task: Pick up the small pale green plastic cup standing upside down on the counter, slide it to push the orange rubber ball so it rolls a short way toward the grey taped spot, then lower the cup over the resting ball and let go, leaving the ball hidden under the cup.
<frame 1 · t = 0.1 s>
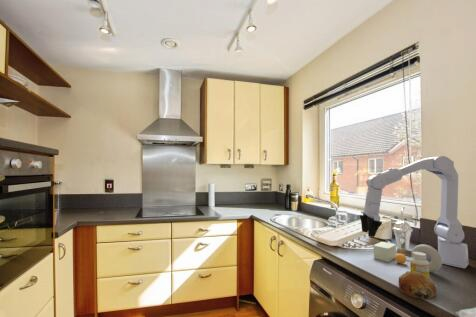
hand: (367, 234, 112), 11 cm above the worktop, tool pointing down, fingers open, 7 cm apart
bread roll: (416, 293, 82), on the worktop
supplement bottle: (419, 282, 90), on the worktop
ball: (400, 258, 107), on the worktop
cup with straw: (403, 250, 124), on the worktop
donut: (426, 272, 99), on the worktop
cup: (385, 257, 114), on the worktop
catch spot: (407, 258, 112), on the worktop
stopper: (411, 255, 116), on the worktop
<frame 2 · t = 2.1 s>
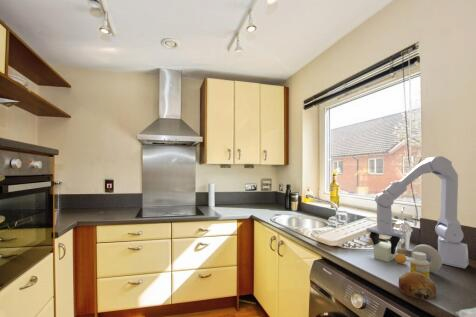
hand: (384, 251, 114), 2 cm above the worktop, tool pointing down, fingers closed on cup, 6 cm apart
cup: (385, 257, 114), on the worktop, touching gripper
everything else where it was.
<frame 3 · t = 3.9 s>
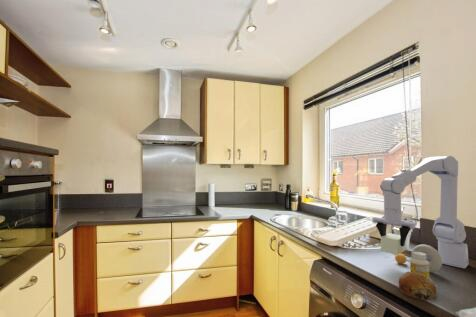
hand: (393, 243, 102), 9 cm above the worktop, tool pointing down, fingers closed on cup, 6 cm apart
cup: (393, 250, 102), point 7 cm above the worktop, touching gripper
everything else where it was.
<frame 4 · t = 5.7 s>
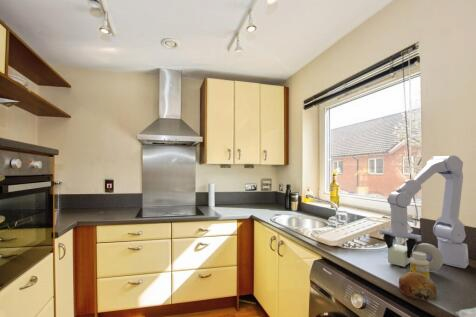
hand: (399, 255, 106), 4 cm above the worktop, tool pointing down, fingers closed on cup, 6 cm apart
ball: (404, 255, 110), on the worktop
cup: (399, 261, 106), point 1 cm above the worktop, touching gripper
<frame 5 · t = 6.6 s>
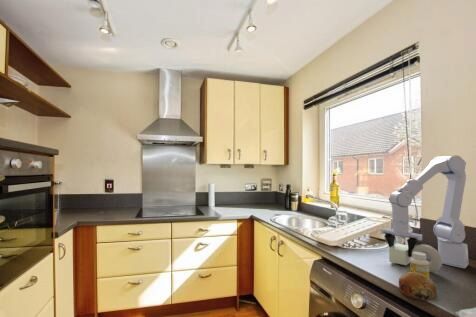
hand: (401, 254, 107), 4 cm above the worktop, tool pointing down, fingers closed on cup, 6 cm apart
ball: (406, 254, 112), on the worktop
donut: (426, 271, 99), on the worktop, touching gripper
cup: (401, 260, 107), point 1 cm above the worktop, touching gripper
everything else where it was.
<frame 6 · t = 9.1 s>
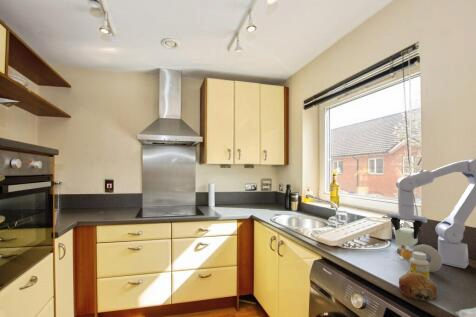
hand: (406, 236, 112), 9 cm above the worktop, tool pointing down, fingers closed on cup, 6 cm apart
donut: (426, 271, 99), on the worktop
cup: (406, 242, 112), point 7 cm above the worktop, touching gripper
everything else where it was.
when the fingers open (3 cm above the worktop, at t = 11.4 s): cup stays where it is, on the worktop.
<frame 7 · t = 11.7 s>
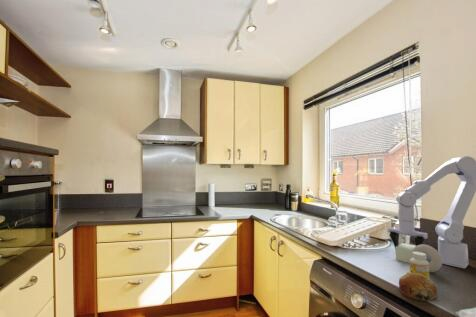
hand: (407, 252, 112), 3 cm above the worktop, tool pointing down, fingers open, 7 cm apart
cup: (407, 259, 112), on the worktop
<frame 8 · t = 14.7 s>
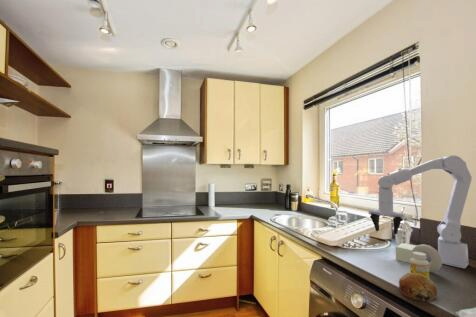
hand: (386, 232, 118), 10 cm above the worktop, tool pointing down, fingers open, 7 cm apart
at the end: ball 0.4 cm from the cup (horizontally); cup on the worktop; ball moved 8.2 cm from its start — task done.
